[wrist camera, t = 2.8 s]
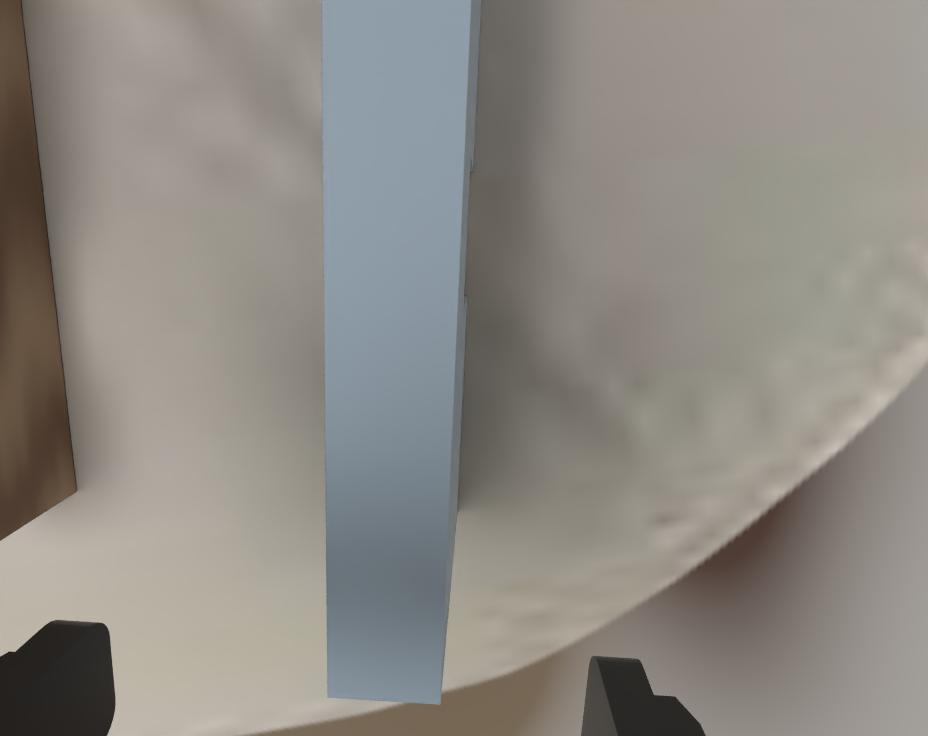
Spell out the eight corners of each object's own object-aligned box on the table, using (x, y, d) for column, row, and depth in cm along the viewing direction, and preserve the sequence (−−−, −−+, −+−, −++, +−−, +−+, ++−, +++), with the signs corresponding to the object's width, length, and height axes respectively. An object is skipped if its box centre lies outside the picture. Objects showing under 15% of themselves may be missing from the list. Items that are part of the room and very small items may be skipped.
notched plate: (401, -120, 17) (317, -483, 8) (487, -116, 17) (492, -479, 8) (389, 508, 22) (327, 697, 13) (457, 513, 22) (439, 704, 13)
